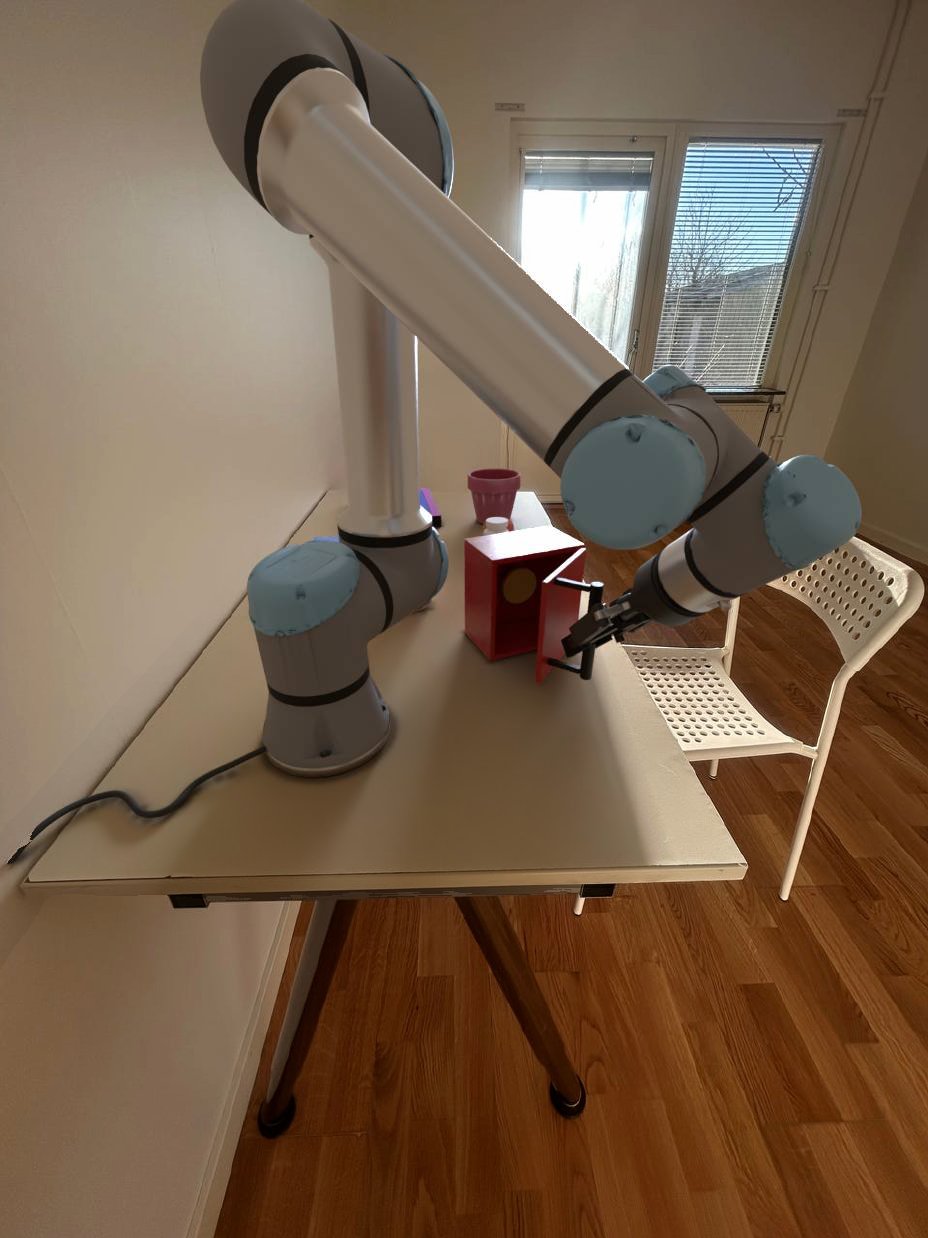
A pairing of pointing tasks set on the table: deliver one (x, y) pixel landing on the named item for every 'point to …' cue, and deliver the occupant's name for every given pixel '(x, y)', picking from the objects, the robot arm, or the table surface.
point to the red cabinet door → (564, 616)
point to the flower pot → (493, 492)
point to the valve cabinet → (510, 586)
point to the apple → (509, 527)
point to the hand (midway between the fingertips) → (574, 646)
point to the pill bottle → (496, 526)
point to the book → (430, 506)
